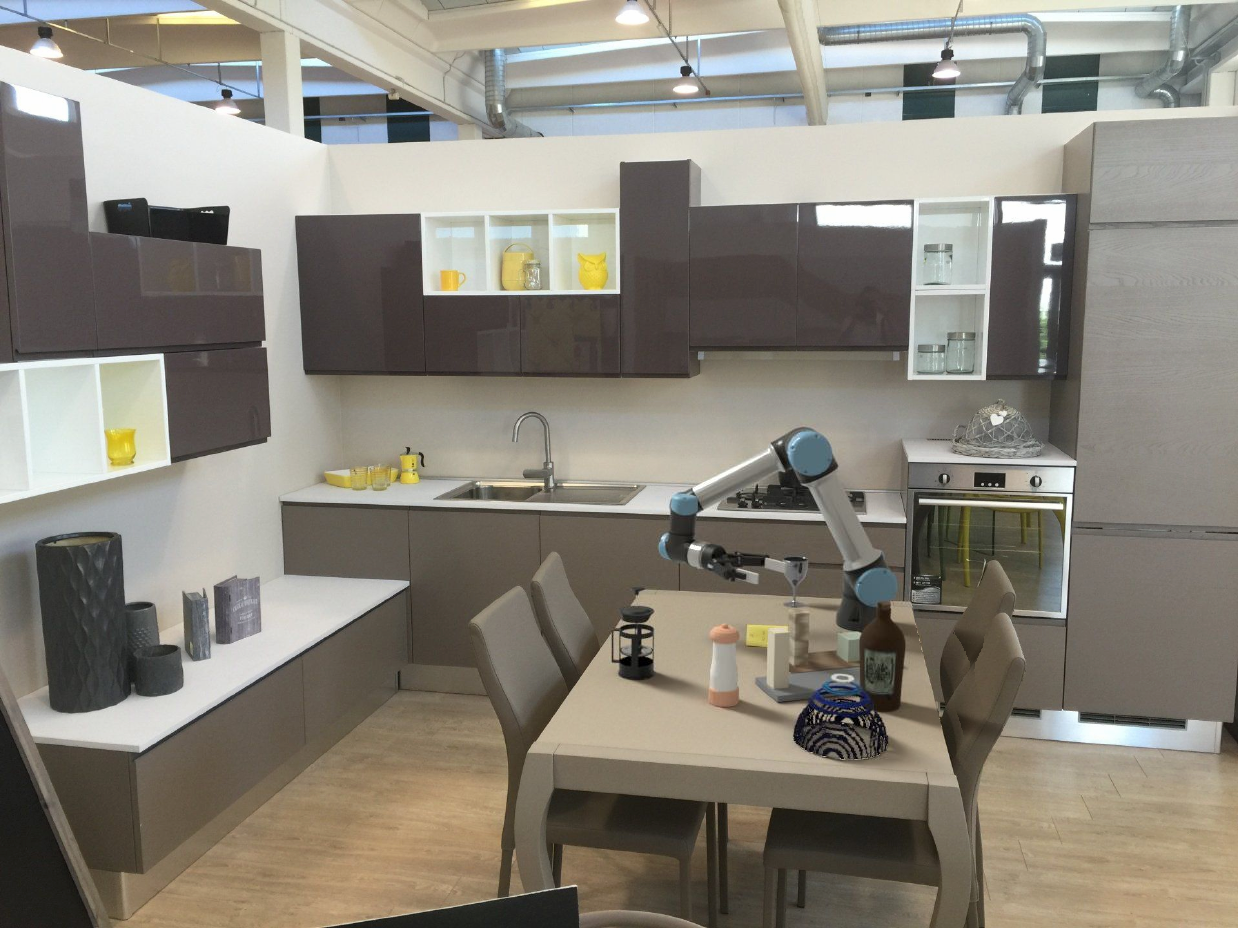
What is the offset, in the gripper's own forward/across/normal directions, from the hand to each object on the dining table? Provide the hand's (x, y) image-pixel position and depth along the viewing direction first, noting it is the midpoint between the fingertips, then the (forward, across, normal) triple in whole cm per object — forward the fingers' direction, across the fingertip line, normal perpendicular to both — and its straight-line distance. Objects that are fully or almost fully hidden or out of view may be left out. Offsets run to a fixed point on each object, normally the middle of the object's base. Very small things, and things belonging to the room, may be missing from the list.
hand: (772, 573), depth 268 cm
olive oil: (+38, +11, -21) cm, 45 cm away
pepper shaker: (+10, +34, -22) cm, 42 cm away
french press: (-19, +33, -24) cm, 45 cm away
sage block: (+19, -11, -21) cm, 31 cm away
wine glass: (-22, -49, -27) cm, 60 cm away
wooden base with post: (+17, -8, -23) cm, 30 cm away
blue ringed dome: (+42, +35, -20) cm, 58 cm away
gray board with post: (+22, +10, -22) cm, 33 cm away
